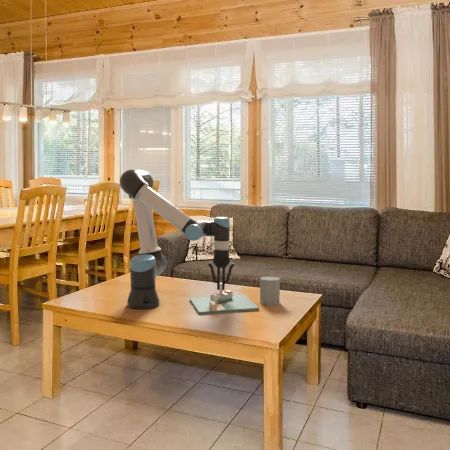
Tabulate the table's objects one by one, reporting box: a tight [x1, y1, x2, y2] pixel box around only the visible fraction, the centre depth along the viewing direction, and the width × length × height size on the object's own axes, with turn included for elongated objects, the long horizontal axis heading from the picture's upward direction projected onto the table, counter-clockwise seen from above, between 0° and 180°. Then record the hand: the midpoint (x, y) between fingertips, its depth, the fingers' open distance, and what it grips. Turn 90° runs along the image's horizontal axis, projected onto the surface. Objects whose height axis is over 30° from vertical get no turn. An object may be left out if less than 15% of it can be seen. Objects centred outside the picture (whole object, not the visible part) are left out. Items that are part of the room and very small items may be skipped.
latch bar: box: [209, 289, 234, 304], centre depth 236 cm, size 14×4×4 cm, turn 143°
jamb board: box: [189, 294, 260, 315], centre depth 234 cm, size 28×24×4 cm
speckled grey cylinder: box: [259, 275, 281, 307], centre depth 237 cm, size 10×10×12 cm
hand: (220, 296), depth 241 cm, fingers closed
